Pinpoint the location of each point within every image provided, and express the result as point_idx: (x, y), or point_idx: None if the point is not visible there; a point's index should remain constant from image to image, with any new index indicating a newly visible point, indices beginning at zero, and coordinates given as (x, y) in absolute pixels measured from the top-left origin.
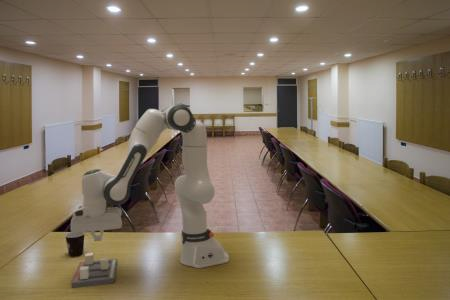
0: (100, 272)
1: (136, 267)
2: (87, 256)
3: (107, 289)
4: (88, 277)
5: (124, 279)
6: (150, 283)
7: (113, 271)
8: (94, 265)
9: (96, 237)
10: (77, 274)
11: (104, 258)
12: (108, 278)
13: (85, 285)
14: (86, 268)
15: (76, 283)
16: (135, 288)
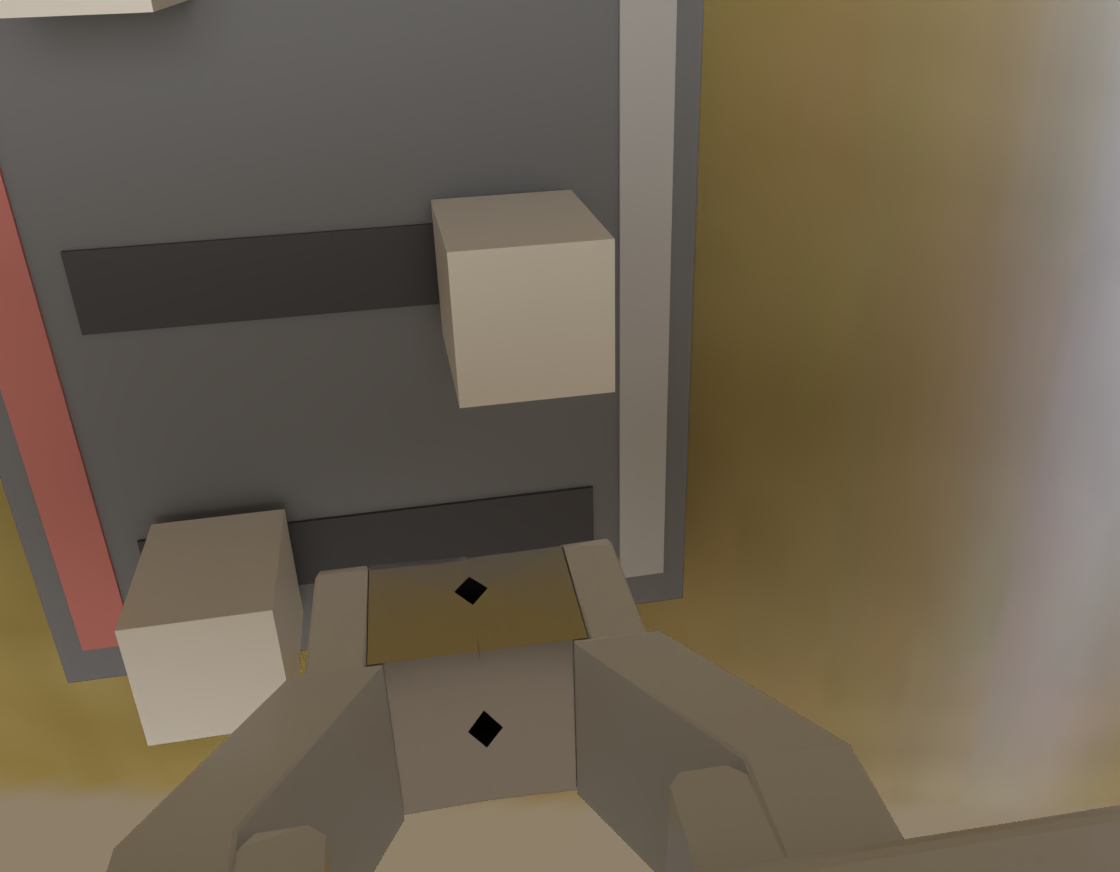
0: (448, 388)
1: (1004, 82)
2: (16, 13)
3: None
4: (297, 583)
5: (793, 473)
6: (1071, 600)
7: (666, 392)
8: (243, 32)
9: (443, 796)
10: (33, 423)
11: (534, 289)
12: None
13: None
14: None
15: None
16: (899, 688)
